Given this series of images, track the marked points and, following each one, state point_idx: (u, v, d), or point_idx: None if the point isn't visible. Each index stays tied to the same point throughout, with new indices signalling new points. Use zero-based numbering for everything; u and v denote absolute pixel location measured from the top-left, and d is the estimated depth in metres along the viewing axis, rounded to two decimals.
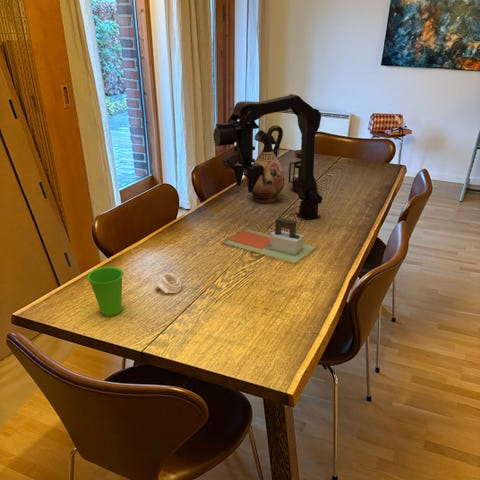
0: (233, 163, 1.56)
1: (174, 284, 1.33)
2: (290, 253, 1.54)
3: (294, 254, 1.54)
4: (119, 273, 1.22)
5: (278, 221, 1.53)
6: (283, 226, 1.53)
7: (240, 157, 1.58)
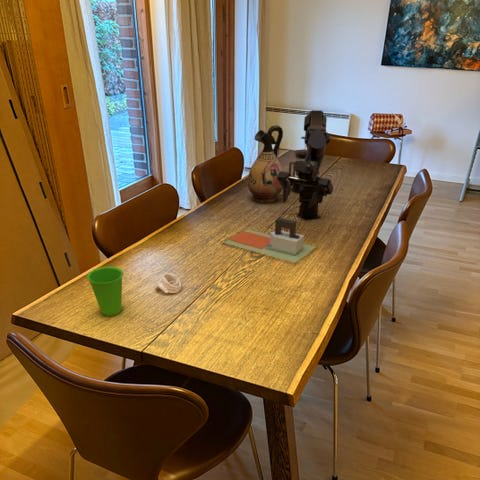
0: (314, 169, 1.51)
1: (174, 284, 1.33)
2: (290, 253, 1.54)
3: (294, 254, 1.54)
4: (119, 273, 1.22)
5: (278, 221, 1.53)
6: (283, 226, 1.53)
7: None
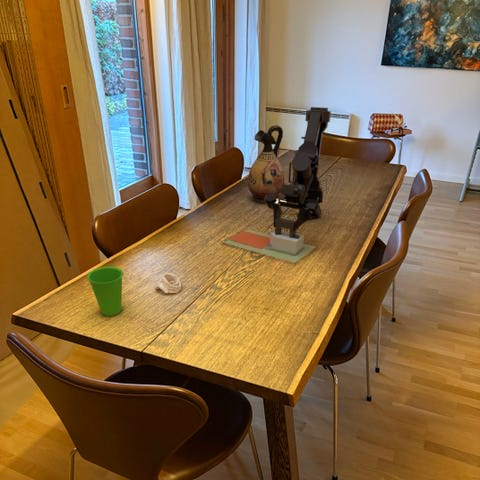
0: (302, 193, 1.47)
1: (174, 284, 1.33)
2: (290, 253, 1.54)
3: (294, 254, 1.54)
4: (119, 273, 1.22)
5: (278, 221, 1.53)
6: (283, 226, 1.53)
7: None
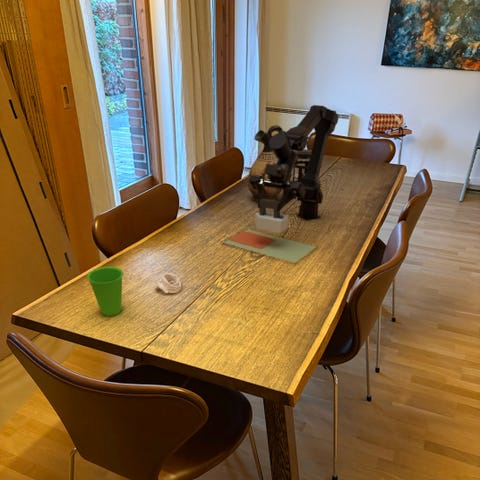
0: (285, 172, 1.48)
1: (174, 284, 1.33)
2: (275, 233, 1.55)
3: (278, 234, 1.54)
4: (119, 273, 1.22)
5: (262, 201, 1.54)
6: (268, 206, 1.54)
7: None
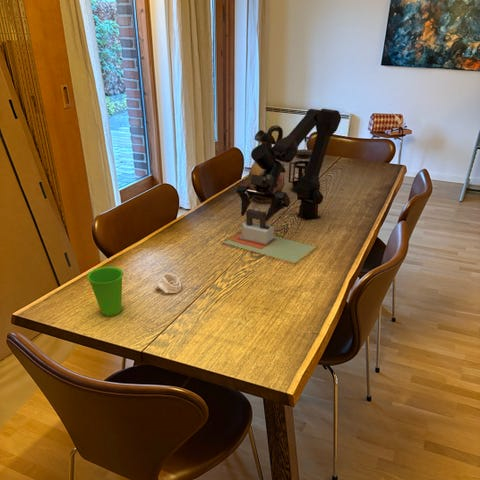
0: (270, 182, 1.53)
1: (174, 284, 1.33)
2: (260, 243, 1.60)
3: (264, 244, 1.60)
4: (119, 273, 1.22)
5: (249, 212, 1.60)
6: (254, 217, 1.59)
7: None
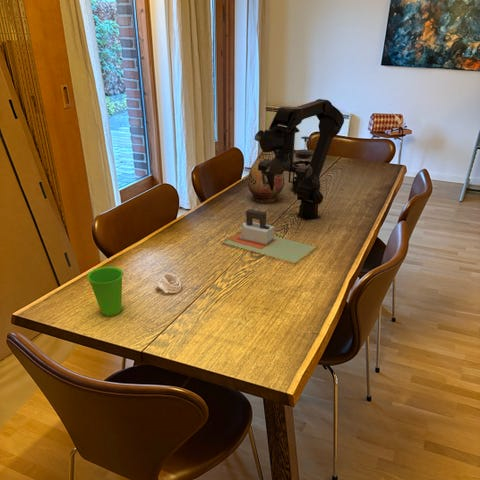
0: (288, 168, 1.58)
1: (174, 284, 1.33)
2: (260, 243, 1.60)
3: (264, 244, 1.60)
4: (119, 273, 1.22)
5: (249, 212, 1.60)
6: (254, 217, 1.59)
7: None
